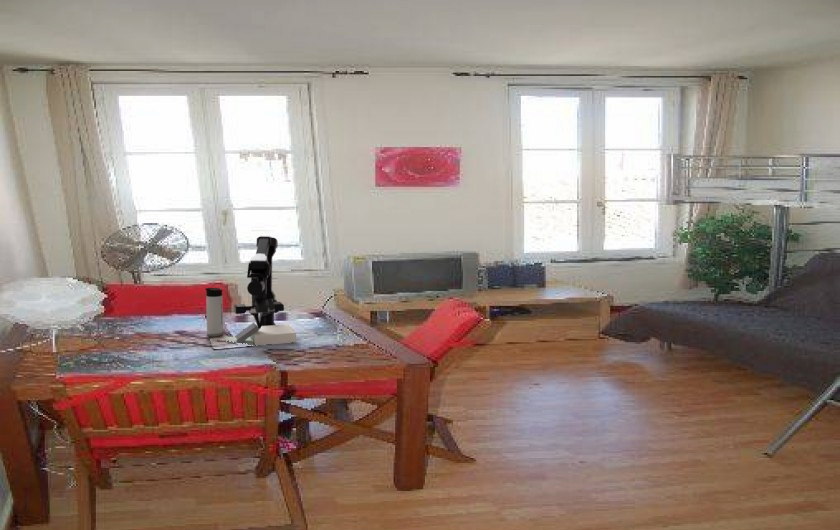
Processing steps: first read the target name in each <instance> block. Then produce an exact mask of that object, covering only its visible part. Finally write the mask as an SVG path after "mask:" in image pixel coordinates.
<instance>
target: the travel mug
mask: <svg viewBox="0 0 840 530" xmlns="http://www.w3.org/2000/svg"><path fill="white" fill-rule="evenodd" d="M205 291H206V292H205V298H206V299H205V303H206V307H205V308H206V309H205V310H206V335H207V336H208V337H220V336H219V335H221V336H222V335H223V334H224V320H223V319H224V315H223V314H224V312H223V311H224V310H223V308H224V307H223V304H224V303H223V302H224V301H223V289H222V288H218V287H205Z"/></svg>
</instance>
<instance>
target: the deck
mask: <svg viewBox="0 0 840 530" xmlns="http://www.w3.org/2000/svg"><path fill="white" fill-rule="evenodd" d="M250 337H251V338H250V339H251V341H252V340H253V341H252V342H254V343H253V344H254V346H255V345H261V346H267V345H266V344H272V345H281V344H291V343H292V342H293V343H297V331H296V330H295V329H294V328H293V326H291V324H289V323H287V324H286V323H285V324H276V325H272V326H261V329H260V330H258V331H257V332H256V333H254V334H253V335H252V336H250Z"/></svg>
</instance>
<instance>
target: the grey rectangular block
mask: <svg viewBox="0 0 840 530" xmlns="http://www.w3.org/2000/svg"><path fill="white" fill-rule="evenodd" d="M258 330H260V329H259V328H258V326H257V324H256V322H252V323H251V324H249V325H248V326H247V327H245V328H244V329H243V330H241V331H240V332H238V333H237V334H235V335H234V337H236V339H237V340H238V341H239V343H242V342H243V341H245V340H246V339H247V338H249V337H250V336H252V335H253V334H254V333H256V332H257V331H258Z"/></svg>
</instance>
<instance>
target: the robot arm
mask: <svg viewBox="0 0 840 530" xmlns="http://www.w3.org/2000/svg"><path fill="white" fill-rule="evenodd" d="M278 243H279V242H278V239H277V238H276V237H272V236H270V235H258V236H257V238H256V247H257V248H256V252H255V255H253V256H251V259H250V261H249V262H248V265H247V266H248V267H247V274H246V275H247V276H246V277H247V279H250V282H249V283H248V285H247V286H246V289H247V292H248V294H249V295H251V305H246V304H245V303H236V304H234V306H233V311H234V313H235V315H241V314H245V313H247V311H248V313H249V314H250V315H251V316H253V318H254V320H255V324H256V325H257V327H258V328H259V329H261V326H272V325H277V324H276V323H275V314H278V313H279V312H284V311H285V305H284V304H283V303H282V301H278V300H277V298H276V294H275V292H274V291H273V257H274V255H275V254H276V252H277V249H278V247H279V246H278V245H279V244H278Z"/></svg>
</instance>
